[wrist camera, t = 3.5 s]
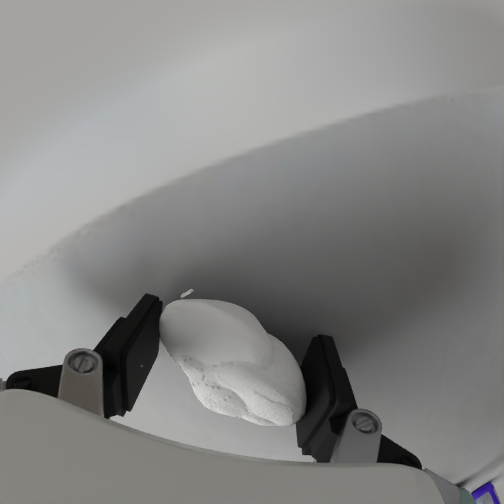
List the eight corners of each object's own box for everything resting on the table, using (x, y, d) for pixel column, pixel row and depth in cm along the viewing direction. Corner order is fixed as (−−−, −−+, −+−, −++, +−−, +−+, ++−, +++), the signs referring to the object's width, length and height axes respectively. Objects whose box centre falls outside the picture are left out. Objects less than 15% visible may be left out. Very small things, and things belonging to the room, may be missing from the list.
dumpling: (324, 358, 13) (326, 434, 9) (230, 378, 14) (217, 444, 11) (252, 239, 10) (231, 329, 6) (143, 285, 11) (101, 359, 8)
